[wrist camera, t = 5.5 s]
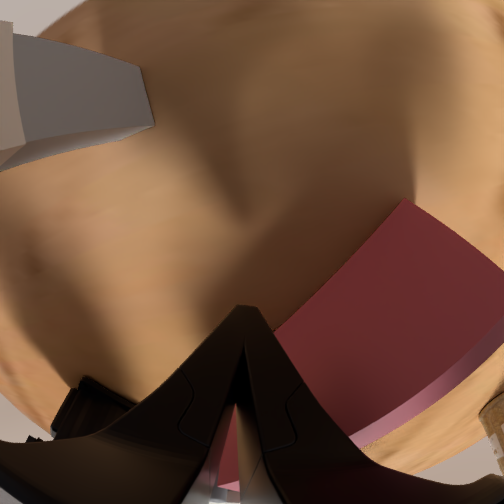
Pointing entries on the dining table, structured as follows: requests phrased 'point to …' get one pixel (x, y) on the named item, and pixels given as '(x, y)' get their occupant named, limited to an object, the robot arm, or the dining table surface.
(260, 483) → the robot arm
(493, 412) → the sprinkles bottle
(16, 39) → the pair of grey plates
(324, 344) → the door
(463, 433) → the dining table surface
